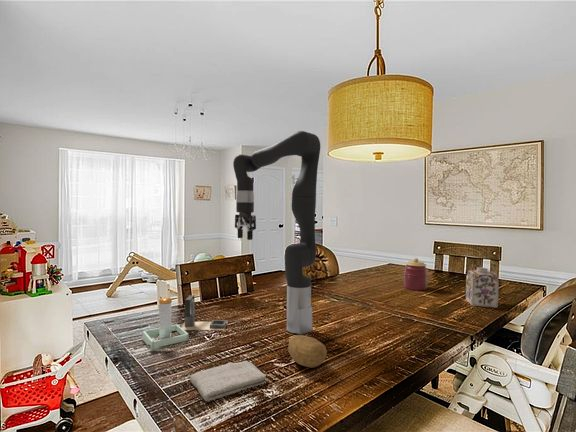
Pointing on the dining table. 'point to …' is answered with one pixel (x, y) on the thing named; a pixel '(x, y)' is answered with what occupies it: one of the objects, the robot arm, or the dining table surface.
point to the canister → (415, 275)
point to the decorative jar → (482, 288)
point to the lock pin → (165, 318)
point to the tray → (156, 345)
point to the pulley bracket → (193, 325)
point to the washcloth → (227, 379)
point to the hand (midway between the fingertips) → (244, 238)
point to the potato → (307, 351)
